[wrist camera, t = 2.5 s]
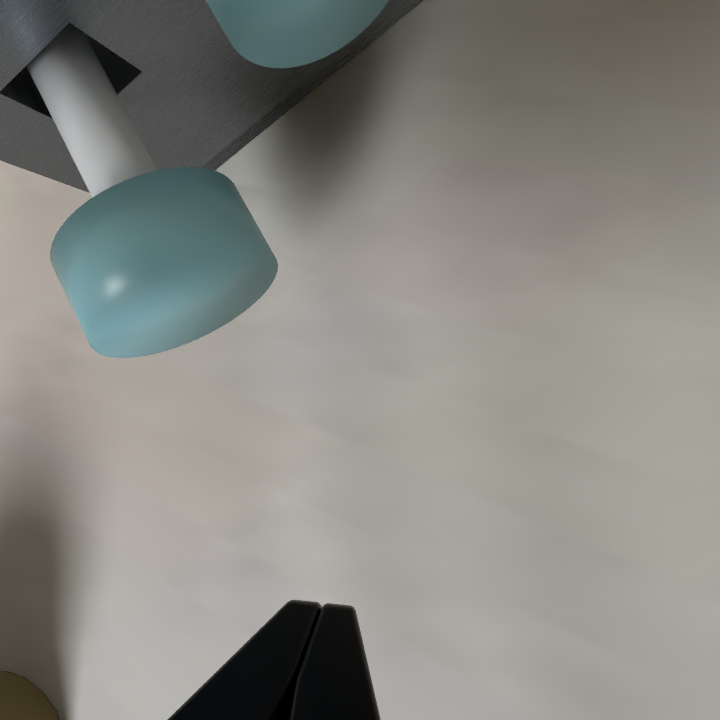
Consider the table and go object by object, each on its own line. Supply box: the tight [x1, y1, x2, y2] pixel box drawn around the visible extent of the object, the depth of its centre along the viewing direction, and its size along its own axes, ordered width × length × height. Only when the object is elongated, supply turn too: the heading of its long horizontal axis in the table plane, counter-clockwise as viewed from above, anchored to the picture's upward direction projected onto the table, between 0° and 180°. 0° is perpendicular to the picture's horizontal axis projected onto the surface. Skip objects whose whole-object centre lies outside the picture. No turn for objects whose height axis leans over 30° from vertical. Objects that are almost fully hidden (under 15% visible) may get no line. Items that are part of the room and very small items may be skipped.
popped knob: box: [26, 23, 278, 358], centre depth 15 cm, size 8×4×4 cm, turn 31°
